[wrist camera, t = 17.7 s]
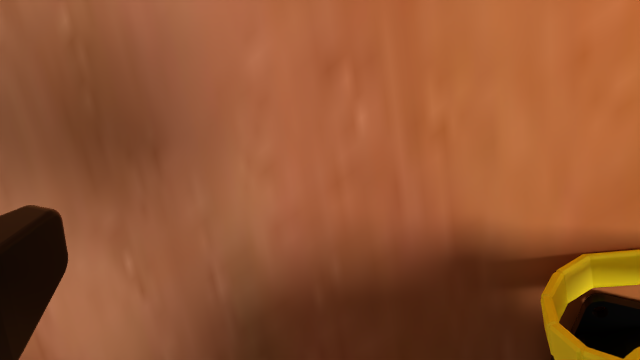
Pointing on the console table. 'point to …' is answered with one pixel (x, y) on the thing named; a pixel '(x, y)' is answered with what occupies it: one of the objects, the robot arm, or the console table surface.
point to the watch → (576, 281)
